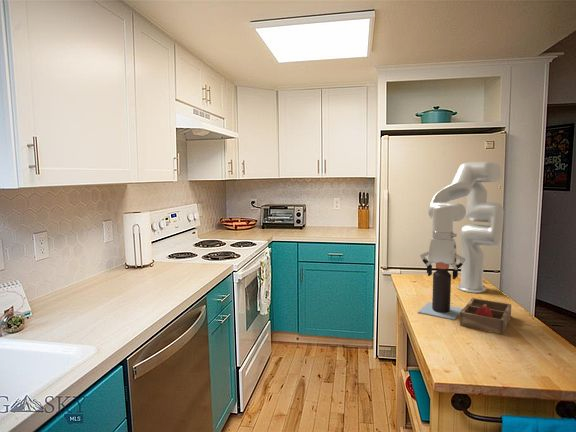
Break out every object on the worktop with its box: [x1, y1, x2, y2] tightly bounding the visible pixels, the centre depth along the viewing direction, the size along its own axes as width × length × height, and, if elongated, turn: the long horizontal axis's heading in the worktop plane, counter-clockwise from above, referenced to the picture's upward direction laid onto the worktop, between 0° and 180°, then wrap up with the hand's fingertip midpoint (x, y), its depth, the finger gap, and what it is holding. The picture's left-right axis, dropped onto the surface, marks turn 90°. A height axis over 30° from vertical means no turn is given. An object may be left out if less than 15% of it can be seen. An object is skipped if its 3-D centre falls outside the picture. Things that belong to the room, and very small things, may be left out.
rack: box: [459, 297, 512, 335], centre depth 144 cm, size 20×14×5 cm
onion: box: [475, 304, 493, 318], centre depth 140 cm, size 6×6×8 cm
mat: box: [417, 301, 464, 321], centre depth 156 cm, size 14×14×1 cm
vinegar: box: [431, 263, 452, 313], centre depth 155 cm, size 7×7×20 cm
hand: (442, 276), depth 154 cm, fingers open, 9 cm apart
